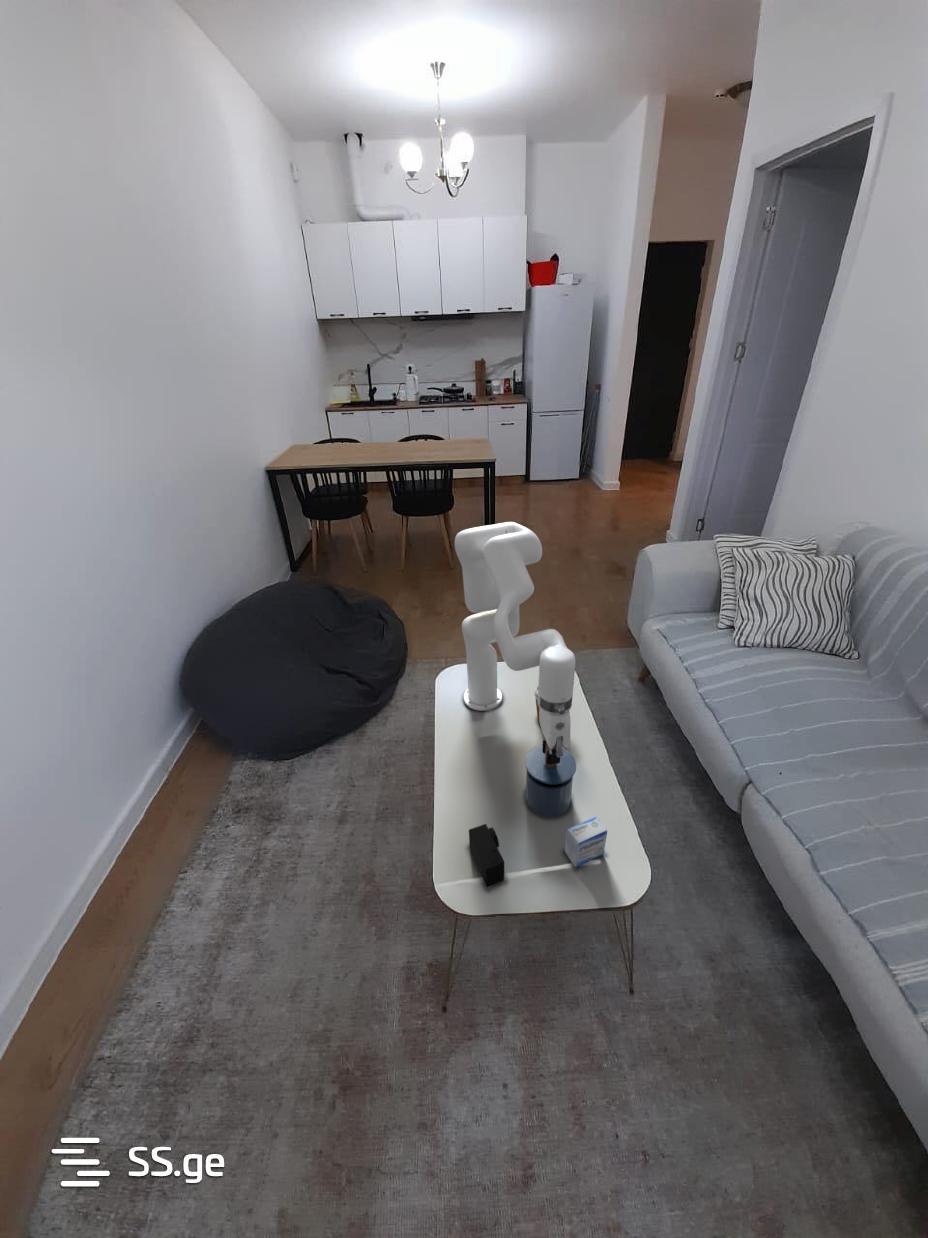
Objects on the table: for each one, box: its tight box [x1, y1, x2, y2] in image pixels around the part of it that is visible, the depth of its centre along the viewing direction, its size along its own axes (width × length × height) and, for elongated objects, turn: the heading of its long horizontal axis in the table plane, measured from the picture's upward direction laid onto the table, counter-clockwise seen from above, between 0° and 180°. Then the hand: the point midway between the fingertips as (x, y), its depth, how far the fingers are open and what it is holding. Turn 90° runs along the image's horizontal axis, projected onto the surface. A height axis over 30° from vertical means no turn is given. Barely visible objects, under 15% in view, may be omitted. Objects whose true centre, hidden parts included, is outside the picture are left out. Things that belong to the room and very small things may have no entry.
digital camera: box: [468, 823, 505, 889], centre depth 111 cm, size 10×5×7 cm, turn 21°
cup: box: [525, 770, 574, 817], centre depth 125 cm, size 11×11×10 cm
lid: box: [524, 743, 577, 786], centre depth 119 cm, size 12×12×7 cm
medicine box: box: [564, 816, 608, 868], centre depth 112 cm, size 8×4×9 cm, turn 113°
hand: (550, 757), depth 119 cm, fingers closed on lid, 2 cm apart
